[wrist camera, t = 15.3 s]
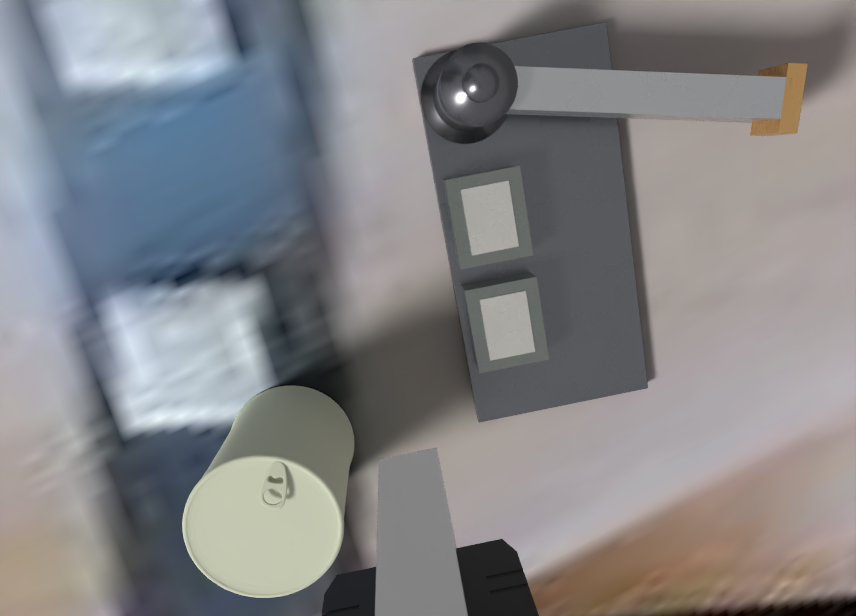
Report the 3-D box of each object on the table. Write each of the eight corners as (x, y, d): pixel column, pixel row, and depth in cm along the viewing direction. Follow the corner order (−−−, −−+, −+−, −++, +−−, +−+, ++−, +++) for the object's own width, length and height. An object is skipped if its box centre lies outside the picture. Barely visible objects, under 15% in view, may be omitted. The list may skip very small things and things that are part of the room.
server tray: (412, 60, 41) (414, 52, 38) (602, 24, 42) (617, 14, 39) (477, 418, 47) (483, 433, 44) (643, 384, 47) (659, 397, 45)
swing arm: (432, 129, 41) (440, 122, 35) (434, 59, 40) (443, 38, 34) (751, 140, 43) (816, 134, 36) (760, 72, 42) (828, 54, 35)
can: (367, 399, 46) (360, 476, 35) (339, 508, 48) (324, 617, 36) (243, 372, 45) (193, 443, 33) (220, 485, 47) (165, 589, 35)
